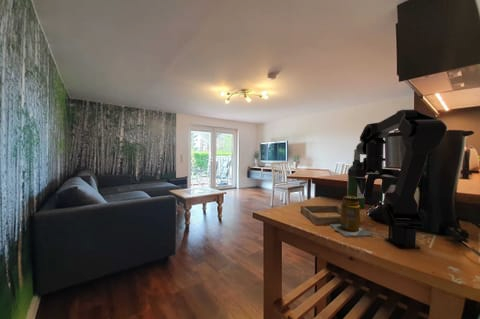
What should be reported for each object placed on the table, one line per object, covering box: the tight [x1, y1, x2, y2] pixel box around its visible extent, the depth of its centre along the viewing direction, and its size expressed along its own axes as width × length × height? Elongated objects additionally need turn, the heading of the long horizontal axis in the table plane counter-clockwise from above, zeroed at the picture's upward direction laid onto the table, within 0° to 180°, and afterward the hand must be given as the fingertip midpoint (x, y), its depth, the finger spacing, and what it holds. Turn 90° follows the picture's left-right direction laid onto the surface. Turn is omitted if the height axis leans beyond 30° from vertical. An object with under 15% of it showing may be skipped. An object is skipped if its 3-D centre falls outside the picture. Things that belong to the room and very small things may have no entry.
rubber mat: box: [329, 224, 374, 238], centre depth 74 cm, size 10×10×1 cm
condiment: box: [333, 195, 364, 235], centre depth 73 cm, size 7×8×12 cm
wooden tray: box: [300, 204, 361, 226], centre depth 87 cm, size 16×18×3 cm
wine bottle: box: [346, 148, 366, 210], centre depth 103 cm, size 8×8×30 cm
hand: (373, 193), depth 81 cm, fingers open, 9 cm apart
